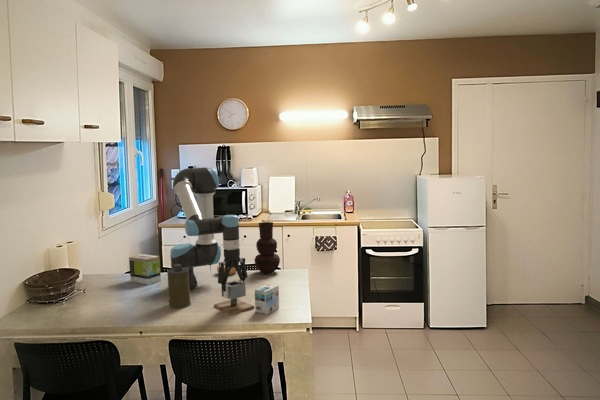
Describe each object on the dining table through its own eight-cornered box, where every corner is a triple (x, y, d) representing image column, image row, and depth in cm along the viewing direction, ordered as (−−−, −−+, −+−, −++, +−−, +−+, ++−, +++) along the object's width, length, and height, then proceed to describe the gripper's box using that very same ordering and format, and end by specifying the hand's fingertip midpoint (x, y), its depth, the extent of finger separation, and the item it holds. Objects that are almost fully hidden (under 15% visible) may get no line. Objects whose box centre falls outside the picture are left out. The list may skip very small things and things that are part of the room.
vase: (251, 275, 294) (249, 225, 290) (258, 269, 309) (256, 220, 305) (277, 276, 291) (275, 225, 287) (282, 269, 306) (281, 220, 303)
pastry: (220, 271, 307) (220, 257, 306) (239, 271, 305) (239, 257, 305) (214, 276, 295) (214, 261, 294) (234, 276, 293) (233, 261, 293)
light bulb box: (266, 314, 228) (265, 291, 227) (254, 312, 232) (253, 289, 230) (279, 307, 237) (279, 285, 236) (268, 305, 241) (267, 283, 239)
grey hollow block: (221, 296, 238) (221, 283, 237) (235, 292, 243) (235, 280, 243) (231, 299, 232) (231, 287, 232) (245, 295, 238) (245, 283, 237)
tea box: (161, 281, 288) (160, 255, 286) (147, 285, 280) (146, 259, 278) (143, 277, 296) (142, 253, 294) (129, 282, 288) (128, 256, 286)
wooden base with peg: (214, 306, 241) (213, 292, 240) (234, 300, 249) (234, 286, 248) (233, 314, 229) (232, 299, 228) (254, 308, 237) (253, 293, 236)
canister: (171, 309, 238) (169, 268, 235) (166, 303, 247) (164, 263, 245) (194, 305, 243) (192, 265, 240) (188, 299, 252) (186, 260, 250)
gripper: (217, 253, 225) (219, 302, 228) (254, 245, 239) (256, 292, 242) (208, 250, 231) (210, 298, 234) (244, 243, 245) (246, 289, 248)
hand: (233, 295), depth 238 cm, fingers closed on grey hollow block, 8 cm apart
